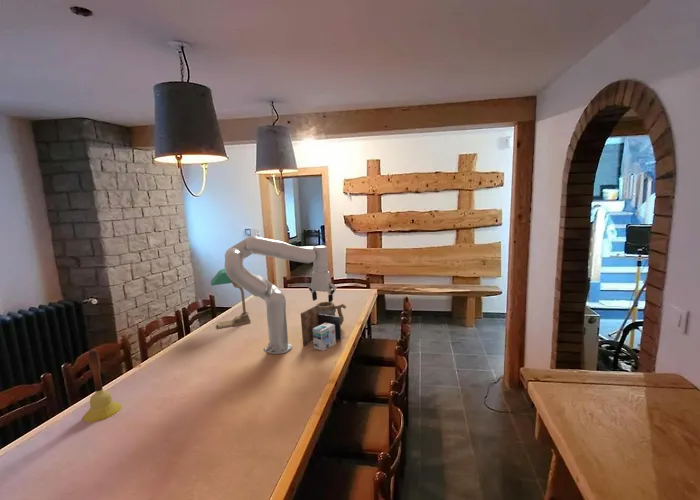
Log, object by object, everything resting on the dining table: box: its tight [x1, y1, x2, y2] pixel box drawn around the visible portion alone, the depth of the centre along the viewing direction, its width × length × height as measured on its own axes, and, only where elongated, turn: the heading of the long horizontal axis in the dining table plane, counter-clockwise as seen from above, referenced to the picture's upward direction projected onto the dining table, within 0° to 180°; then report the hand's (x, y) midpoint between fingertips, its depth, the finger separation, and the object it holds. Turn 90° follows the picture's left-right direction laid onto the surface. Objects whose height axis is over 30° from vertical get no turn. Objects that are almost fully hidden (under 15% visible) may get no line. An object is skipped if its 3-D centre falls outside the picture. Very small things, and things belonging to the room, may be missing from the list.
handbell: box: [82, 348, 123, 423], centre depth 135 cm, size 12×12×25 cm
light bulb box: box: [312, 323, 337, 352], centre depth 186 cm, size 11×7×11 cm, turn 143°
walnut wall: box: [300, 305, 319, 347], centre depth 194 cm, size 15×1×18 cm, turn 151°
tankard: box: [315, 301, 347, 326], centre depth 213 cm, size 20×13×15 cm, turn 62°
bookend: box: [318, 314, 342, 341], centre depth 196 cm, size 1×14×13 cm, turn 61°
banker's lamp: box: [210, 268, 252, 329], centre depth 226 cm, size 16×21×35 cm
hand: (322, 300), depth 192 cm, fingers open, 9 cm apart
